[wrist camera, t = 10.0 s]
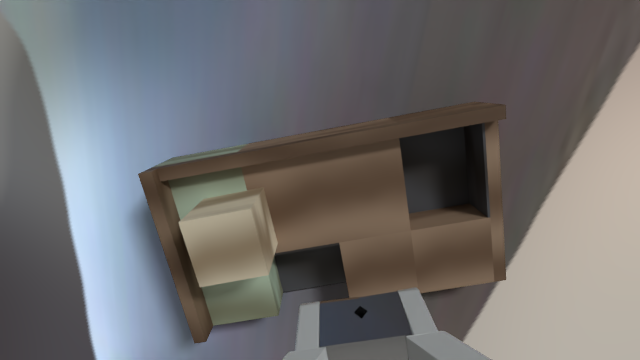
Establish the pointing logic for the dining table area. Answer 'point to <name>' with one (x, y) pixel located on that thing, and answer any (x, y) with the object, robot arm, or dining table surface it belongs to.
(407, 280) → the board
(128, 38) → the dining table surface
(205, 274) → the maple block
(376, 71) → the dining table surface
